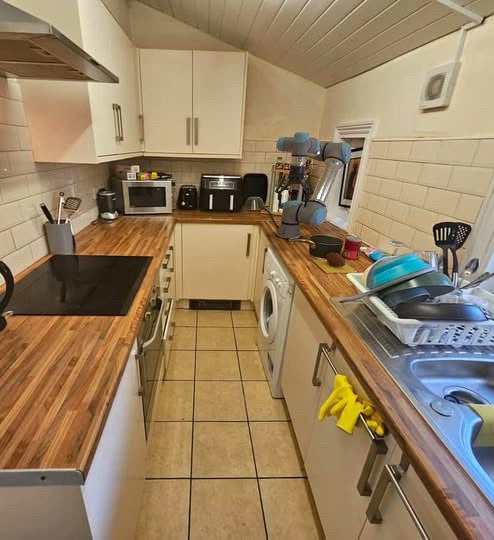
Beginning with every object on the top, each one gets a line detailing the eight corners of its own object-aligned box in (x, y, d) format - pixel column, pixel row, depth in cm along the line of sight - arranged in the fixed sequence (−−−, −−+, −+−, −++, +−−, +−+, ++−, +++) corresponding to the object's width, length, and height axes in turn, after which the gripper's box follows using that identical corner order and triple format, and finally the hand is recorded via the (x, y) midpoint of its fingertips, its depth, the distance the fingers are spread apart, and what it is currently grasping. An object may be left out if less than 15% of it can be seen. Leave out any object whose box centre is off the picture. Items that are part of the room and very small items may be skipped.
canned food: (359, 260, 159) (363, 240, 155) (343, 259, 161) (347, 239, 156) (356, 255, 166) (360, 236, 162) (340, 254, 168) (344, 235, 163)
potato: (339, 270, 145) (341, 258, 142) (320, 262, 154) (323, 250, 151) (347, 268, 148) (350, 256, 145) (329, 260, 157) (331, 249, 154)
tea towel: (312, 260, 158) (312, 259, 157) (341, 260, 159) (341, 259, 159) (325, 272, 143) (325, 272, 143) (357, 272, 144) (357, 271, 144)
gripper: (274, 165, 151) (269, 207, 159) (324, 166, 150) (317, 209, 158) (272, 164, 157) (268, 204, 166) (320, 165, 157) (313, 206, 165)
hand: (292, 206), depth 162 cm, fingers open, 13 cm apart
